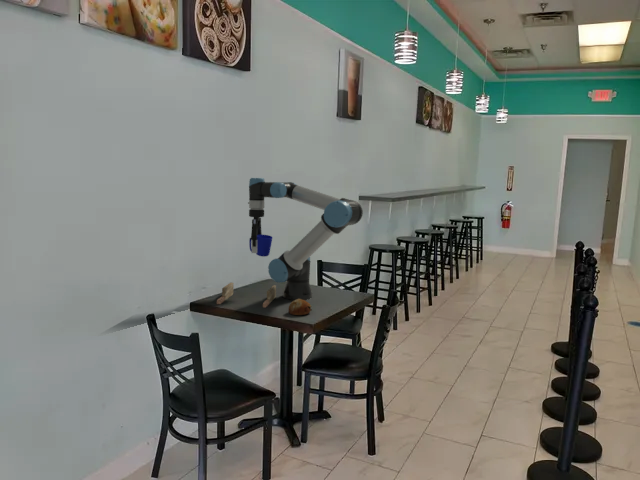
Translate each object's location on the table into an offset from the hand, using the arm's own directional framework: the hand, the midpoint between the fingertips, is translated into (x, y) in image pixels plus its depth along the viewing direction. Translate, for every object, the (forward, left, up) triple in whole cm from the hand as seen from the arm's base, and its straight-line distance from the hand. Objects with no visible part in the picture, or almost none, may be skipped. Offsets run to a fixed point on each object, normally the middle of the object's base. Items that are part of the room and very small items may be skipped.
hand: (256, 251), depth 260 cm
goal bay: (+2, +15, -24) cm, 28 cm away
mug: (-1, -3, -3) cm, 4 cm away
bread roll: (-29, +25, -24) cm, 46 cm away
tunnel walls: (+2, +3, -24) cm, 24 cm away
